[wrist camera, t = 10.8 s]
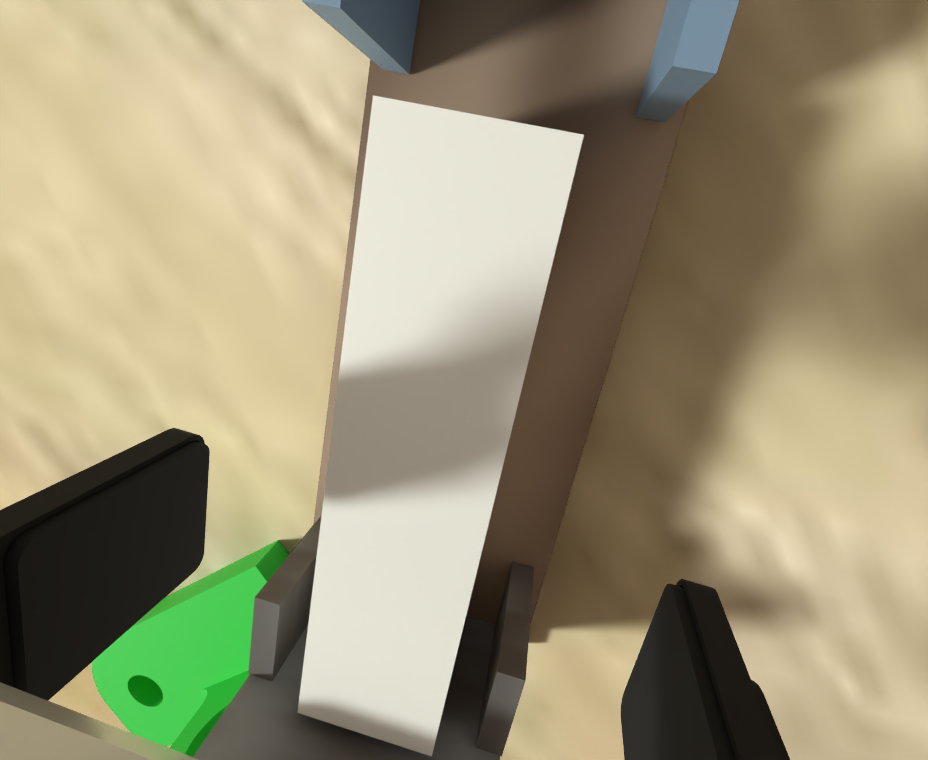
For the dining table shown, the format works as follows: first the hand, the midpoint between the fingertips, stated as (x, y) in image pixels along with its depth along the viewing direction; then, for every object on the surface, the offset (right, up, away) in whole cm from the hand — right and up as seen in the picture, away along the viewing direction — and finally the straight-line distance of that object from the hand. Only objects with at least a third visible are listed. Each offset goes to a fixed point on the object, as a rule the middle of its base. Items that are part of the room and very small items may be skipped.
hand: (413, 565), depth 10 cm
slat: (+1, +3, +8) cm, 8 cm away
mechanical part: (-10, -8, +15) cm, 20 cm away
